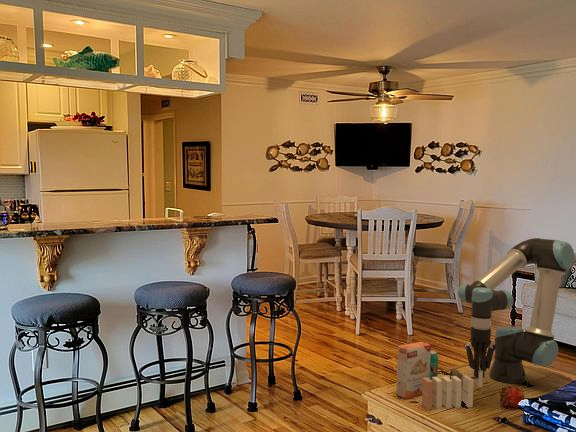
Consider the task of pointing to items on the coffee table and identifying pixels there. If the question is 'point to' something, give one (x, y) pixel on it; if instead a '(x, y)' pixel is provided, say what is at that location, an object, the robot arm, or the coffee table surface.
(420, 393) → the cracker box
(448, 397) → the domino
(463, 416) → the coffee table surface
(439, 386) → the domino
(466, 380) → the domino
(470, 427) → the coffee table surface
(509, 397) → the dragon fruit
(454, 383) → the domino
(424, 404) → the domino
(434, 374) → the beverage can
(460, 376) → the rhino figurine
